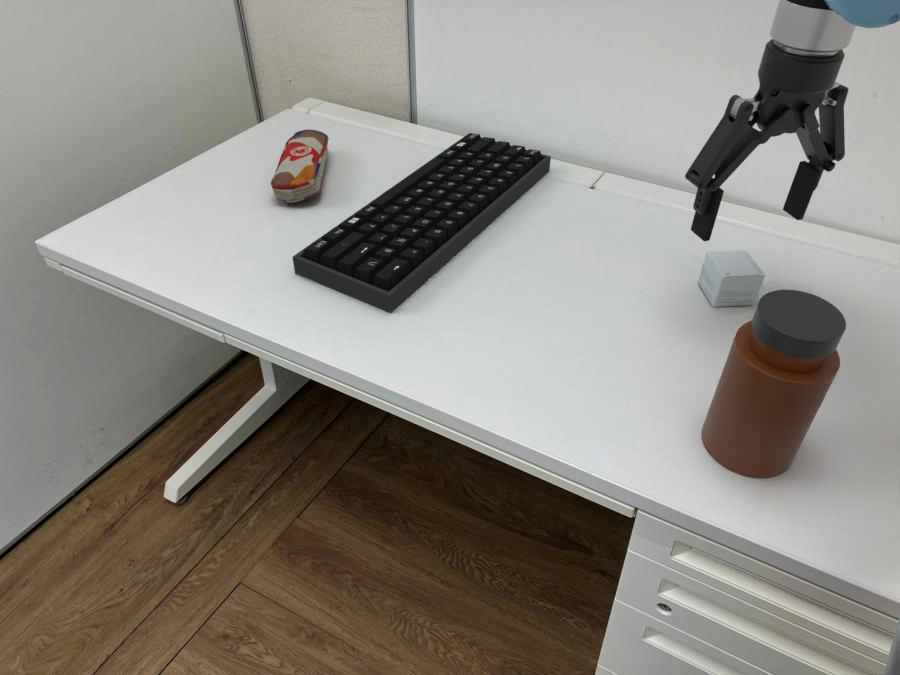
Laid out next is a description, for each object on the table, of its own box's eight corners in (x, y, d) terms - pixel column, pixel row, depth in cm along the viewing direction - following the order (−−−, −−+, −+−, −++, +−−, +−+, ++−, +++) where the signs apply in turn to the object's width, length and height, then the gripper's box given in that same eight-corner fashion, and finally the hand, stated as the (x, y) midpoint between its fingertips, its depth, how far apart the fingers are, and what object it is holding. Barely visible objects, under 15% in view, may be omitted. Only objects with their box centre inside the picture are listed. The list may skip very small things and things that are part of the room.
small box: (755, 305, 90) (766, 274, 86) (711, 308, 89) (721, 276, 86) (737, 279, 94) (747, 248, 91) (695, 281, 93) (704, 250, 90)
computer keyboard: (467, 148, 123) (468, 127, 121) (549, 171, 117) (551, 149, 114) (295, 273, 94) (291, 249, 92) (390, 313, 88) (389, 288, 85)
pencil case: (247, 202, 108) (241, 173, 105) (296, 147, 123) (292, 120, 120) (314, 211, 107) (310, 181, 103) (356, 154, 121) (353, 127, 118)
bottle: (812, 463, 70) (881, 334, 59) (738, 489, 68) (796, 358, 57) (753, 402, 76) (806, 275, 65) (683, 423, 74) (725, 295, 63)
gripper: (873, 19, 77) (807, 192, 91) (680, 46, 70) (641, 227, 84) (930, 41, 72) (851, 221, 86) (727, 72, 65) (677, 261, 79)
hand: (747, 224), depth 85 cm, fingers open, 13 cm apart
